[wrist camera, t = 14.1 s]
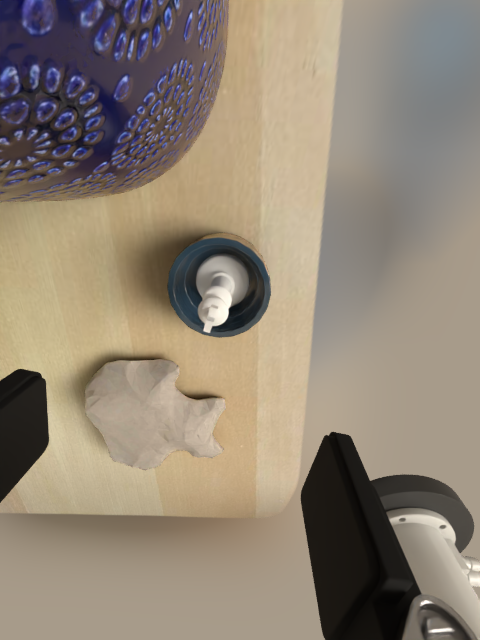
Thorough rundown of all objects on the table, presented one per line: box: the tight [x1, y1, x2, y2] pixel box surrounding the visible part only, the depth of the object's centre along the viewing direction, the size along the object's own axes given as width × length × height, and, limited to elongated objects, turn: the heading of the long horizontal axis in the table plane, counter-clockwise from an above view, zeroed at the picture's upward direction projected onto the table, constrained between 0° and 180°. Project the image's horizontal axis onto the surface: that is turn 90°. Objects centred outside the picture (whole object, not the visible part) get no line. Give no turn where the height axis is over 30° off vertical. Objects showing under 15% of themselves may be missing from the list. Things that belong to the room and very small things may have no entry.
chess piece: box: [196, 253, 250, 333], centre depth 21 cm, size 5×5×10 cm
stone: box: [85, 359, 226, 470], centre depth 31 cm, size 14×4×15 cm
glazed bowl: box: [167, 233, 271, 337], centre depth 24 cm, size 8×8×4 cm
